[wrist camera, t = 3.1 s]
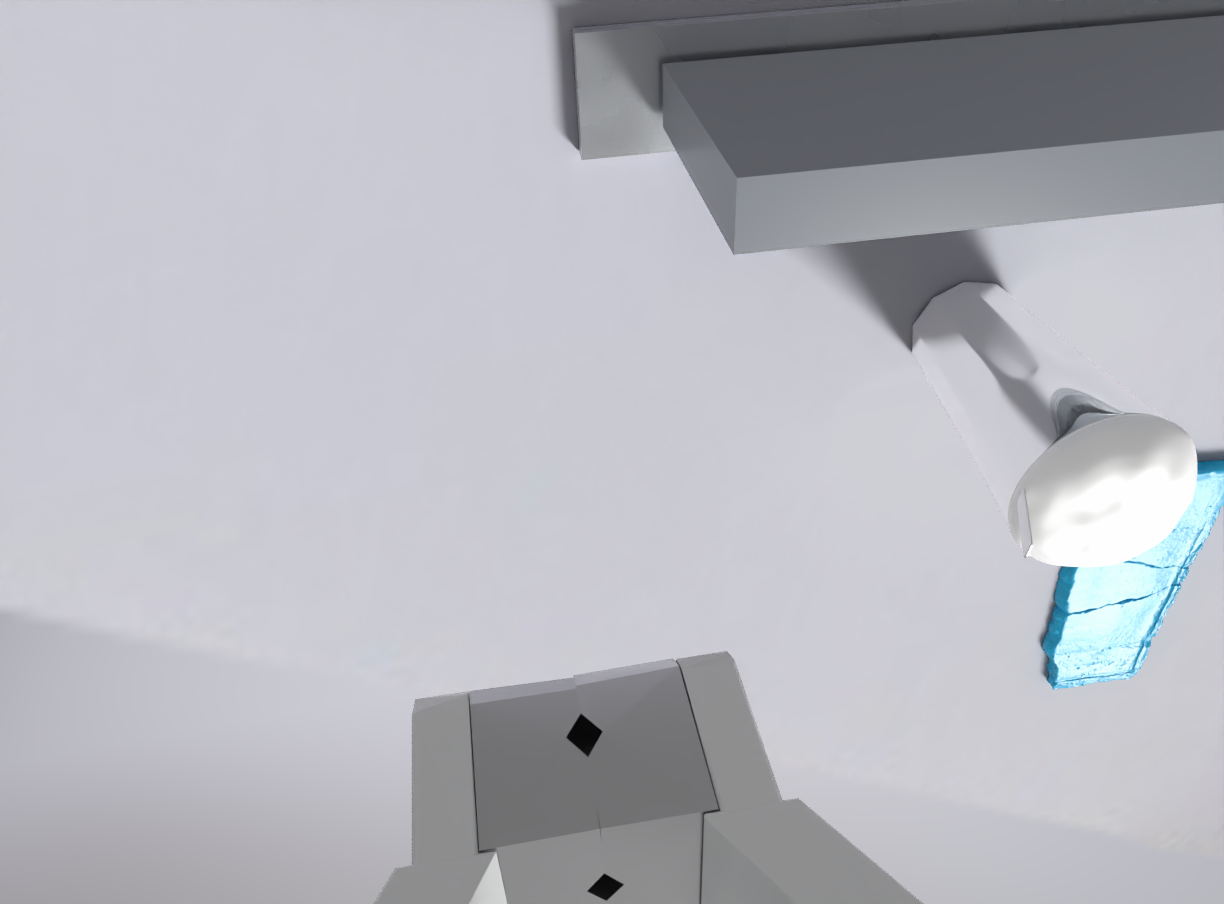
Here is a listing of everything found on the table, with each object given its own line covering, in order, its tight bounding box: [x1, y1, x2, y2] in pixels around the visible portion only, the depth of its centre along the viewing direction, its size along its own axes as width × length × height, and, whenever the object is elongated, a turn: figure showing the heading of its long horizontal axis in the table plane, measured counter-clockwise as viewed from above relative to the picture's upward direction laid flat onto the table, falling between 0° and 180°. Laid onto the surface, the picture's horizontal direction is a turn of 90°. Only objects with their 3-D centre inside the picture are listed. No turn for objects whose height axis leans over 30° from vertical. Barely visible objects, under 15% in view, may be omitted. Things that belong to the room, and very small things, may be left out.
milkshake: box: [912, 282, 1197, 567], centre depth 26 cm, size 4×5×10 cm
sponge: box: [1042, 460, 1224, 689], centre depth 39 cm, size 2×12×6 cm
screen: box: [662, 15, 1224, 254], centre depth 22 cm, size 20×2×7 cm, turn 91°
